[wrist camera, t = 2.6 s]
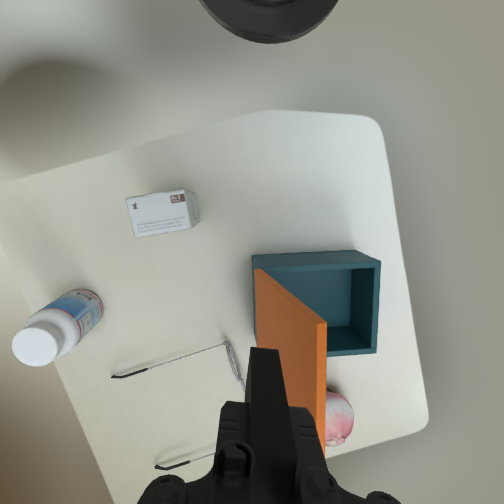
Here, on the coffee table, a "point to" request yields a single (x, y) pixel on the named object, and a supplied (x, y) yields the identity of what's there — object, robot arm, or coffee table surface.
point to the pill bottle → (57, 328)
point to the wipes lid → (294, 345)
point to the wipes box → (331, 293)
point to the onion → (337, 419)
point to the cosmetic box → (162, 212)
